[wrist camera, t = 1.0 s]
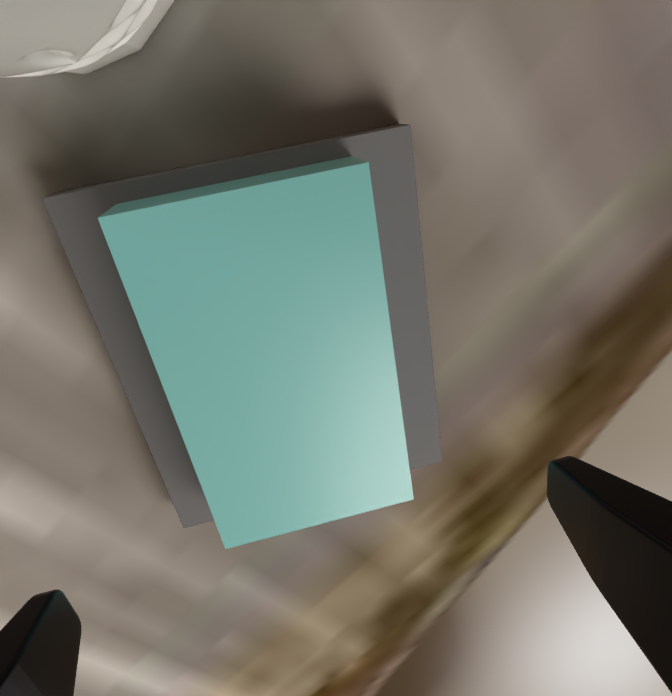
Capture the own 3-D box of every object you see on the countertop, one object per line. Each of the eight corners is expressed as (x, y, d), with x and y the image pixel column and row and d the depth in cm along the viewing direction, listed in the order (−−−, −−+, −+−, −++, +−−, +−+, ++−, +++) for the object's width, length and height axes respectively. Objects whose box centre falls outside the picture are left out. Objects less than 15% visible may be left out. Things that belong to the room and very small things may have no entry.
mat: (400, 124, 15) (410, 124, 14) (433, 446, 20) (442, 461, 19) (55, 192, 14) (41, 198, 13) (186, 509, 19) (183, 528, 18)
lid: (351, 155, 14) (369, 162, 12) (397, 462, 19) (413, 499, 17) (116, 203, 13) (97, 217, 11) (227, 506, 18) (225, 549, 16)
